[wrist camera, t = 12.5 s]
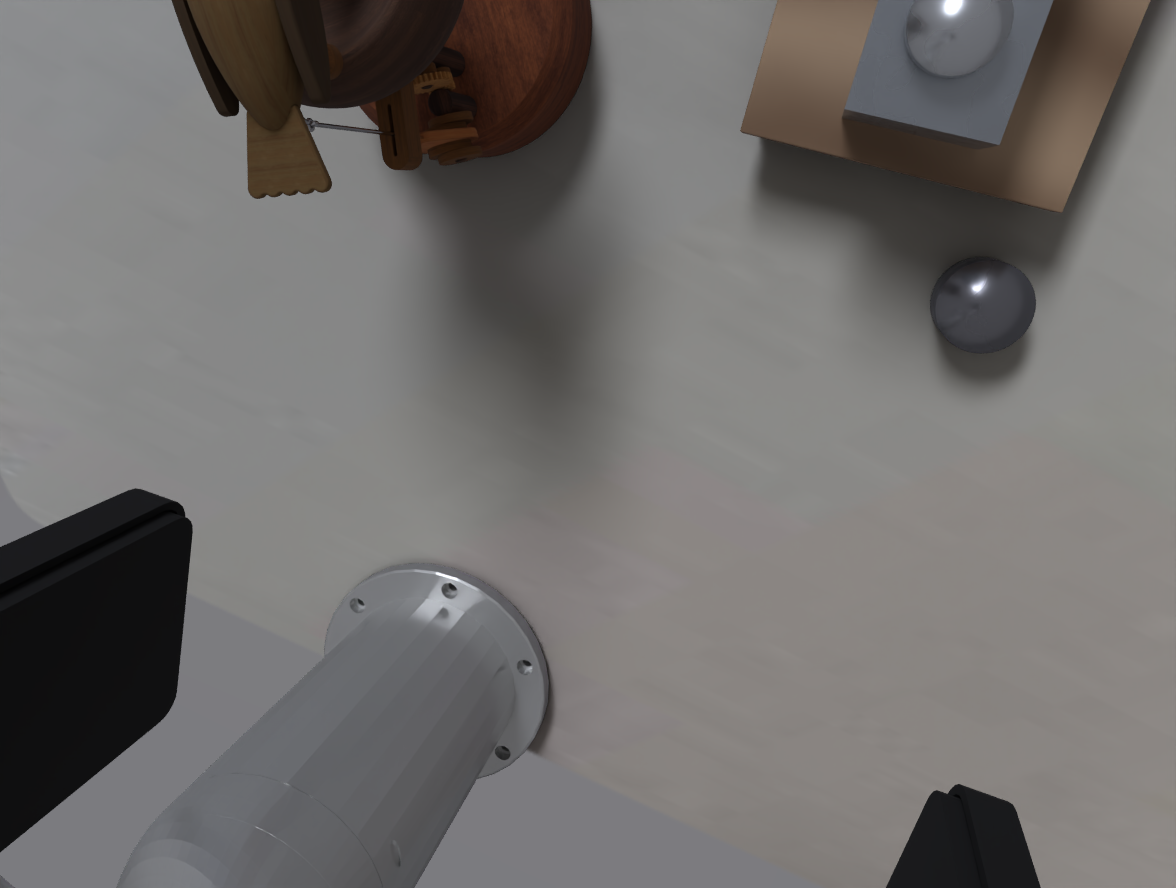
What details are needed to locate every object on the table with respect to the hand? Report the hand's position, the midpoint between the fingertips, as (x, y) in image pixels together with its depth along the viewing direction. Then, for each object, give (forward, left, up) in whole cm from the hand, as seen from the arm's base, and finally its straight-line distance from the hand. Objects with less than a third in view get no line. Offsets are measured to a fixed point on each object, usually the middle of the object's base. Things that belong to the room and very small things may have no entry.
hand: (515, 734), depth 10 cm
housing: (+14, -4, -27) cm, 31 cm away
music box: (+10, +15, -31) cm, 35 cm away
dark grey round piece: (+4, -9, -31) cm, 32 cm away
